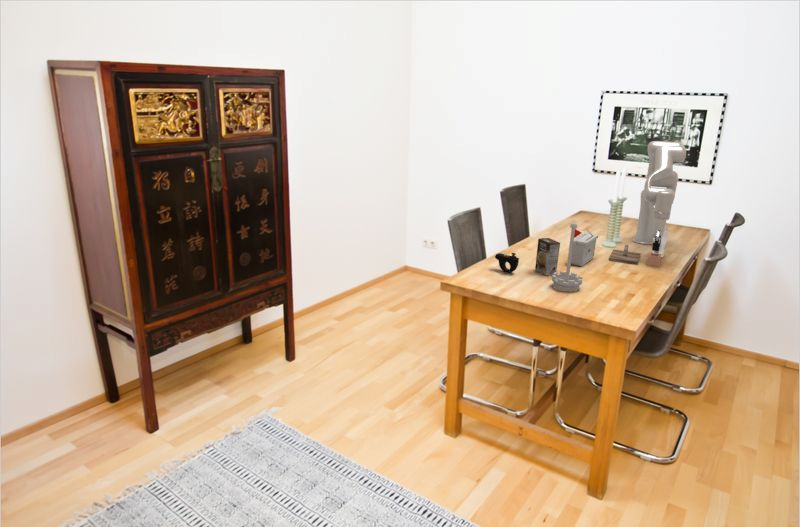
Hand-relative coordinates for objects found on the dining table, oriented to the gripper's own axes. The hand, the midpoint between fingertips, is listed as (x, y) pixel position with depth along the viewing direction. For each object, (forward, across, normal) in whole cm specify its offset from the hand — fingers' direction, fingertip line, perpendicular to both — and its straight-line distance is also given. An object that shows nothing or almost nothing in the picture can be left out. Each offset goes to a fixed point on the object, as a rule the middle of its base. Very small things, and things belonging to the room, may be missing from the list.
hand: (655, 248), depth 281 cm
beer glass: (+8, -18, +1) cm, 20 cm away
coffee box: (+10, +42, -45) cm, 62 cm away
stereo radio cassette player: (+9, +14, -33) cm, 37 cm away
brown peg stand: (+8, -4, -14) cm, 17 cm away
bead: (+8, -1, 0) cm, 9 cm away
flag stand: (+10, +58, -32) cm, 67 cm away
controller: (+10, +51, -62) cm, 81 cm away
